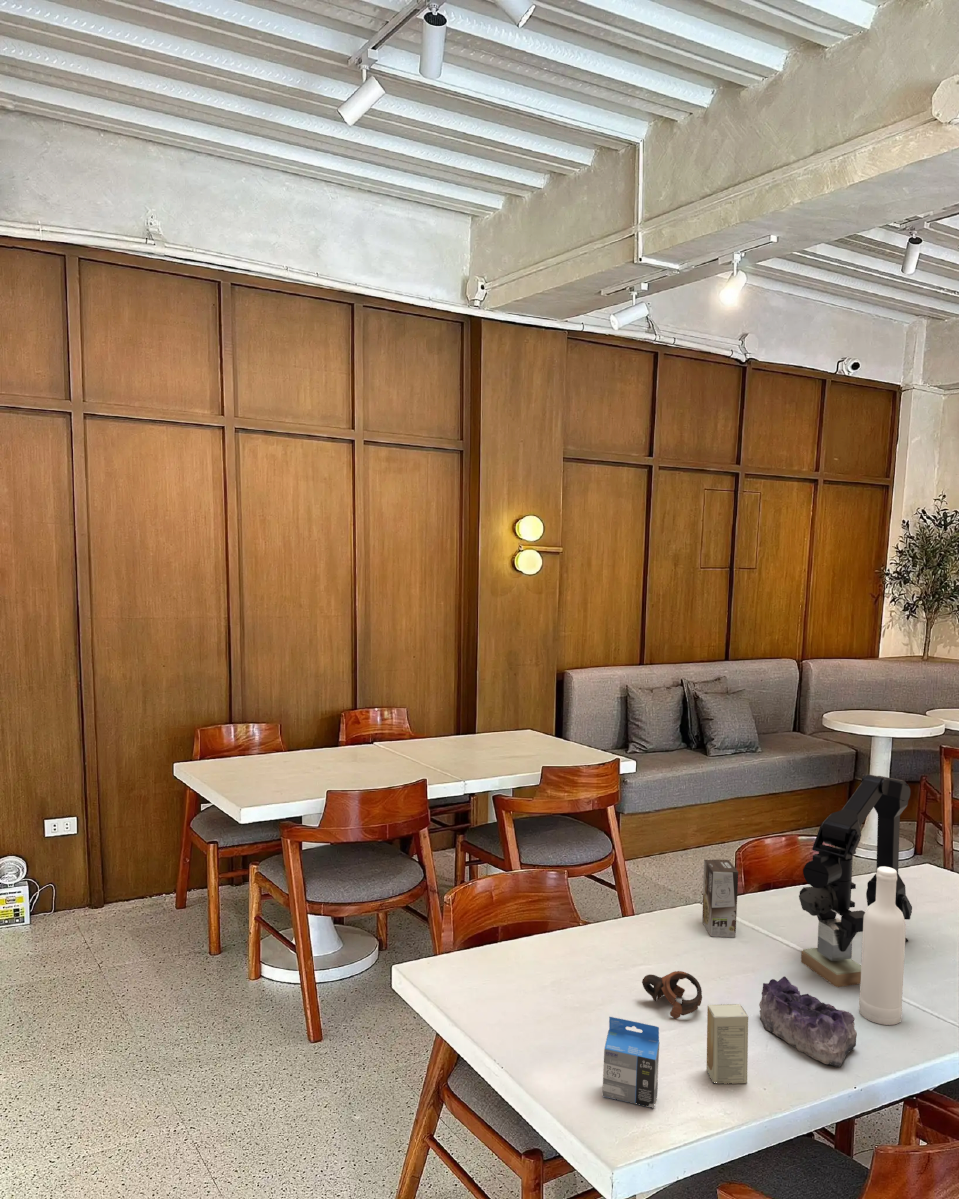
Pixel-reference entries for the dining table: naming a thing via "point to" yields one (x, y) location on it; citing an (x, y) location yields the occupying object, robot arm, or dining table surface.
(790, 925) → the dining table surface
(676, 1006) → the brown curved loop piece
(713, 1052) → the skincare box
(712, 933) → the coffee box
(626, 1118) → the dining table surface
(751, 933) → the dining table surface
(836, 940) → the block
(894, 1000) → the bottle
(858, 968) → the riser
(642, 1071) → the label tape box
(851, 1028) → the geode
